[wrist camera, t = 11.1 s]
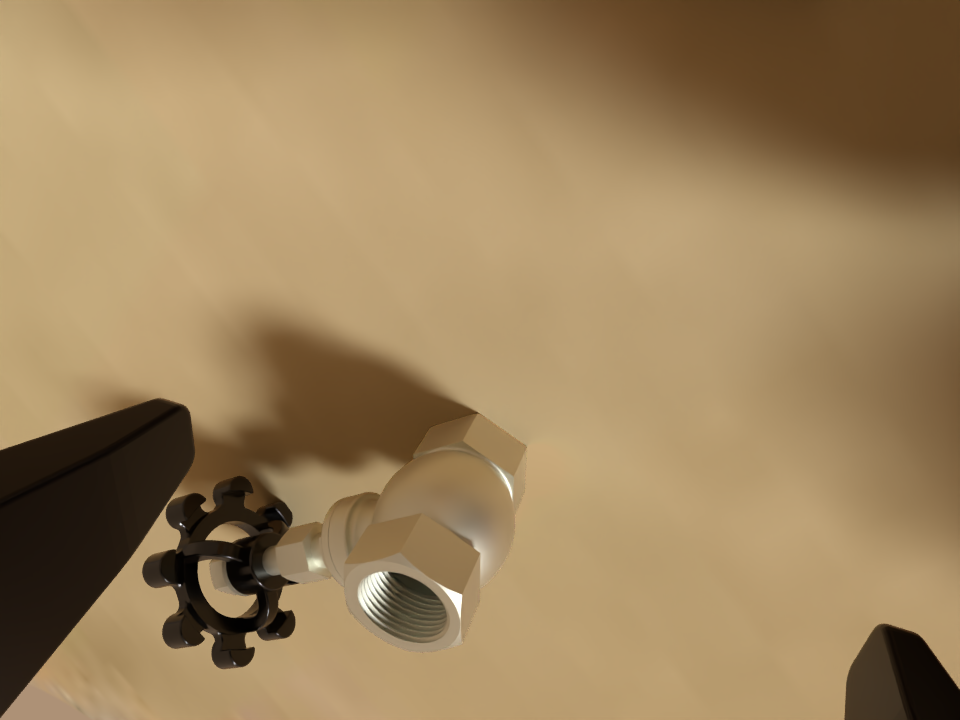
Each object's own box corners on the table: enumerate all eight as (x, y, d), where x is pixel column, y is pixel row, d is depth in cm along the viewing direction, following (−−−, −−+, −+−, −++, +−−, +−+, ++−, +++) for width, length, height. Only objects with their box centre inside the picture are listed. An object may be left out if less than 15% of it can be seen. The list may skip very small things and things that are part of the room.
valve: (485, 358, 23) (224, 445, 29) (400, 497, 18) (101, 570, 24) (576, 520, 25) (316, 572, 31) (525, 688, 20) (223, 712, 26)
